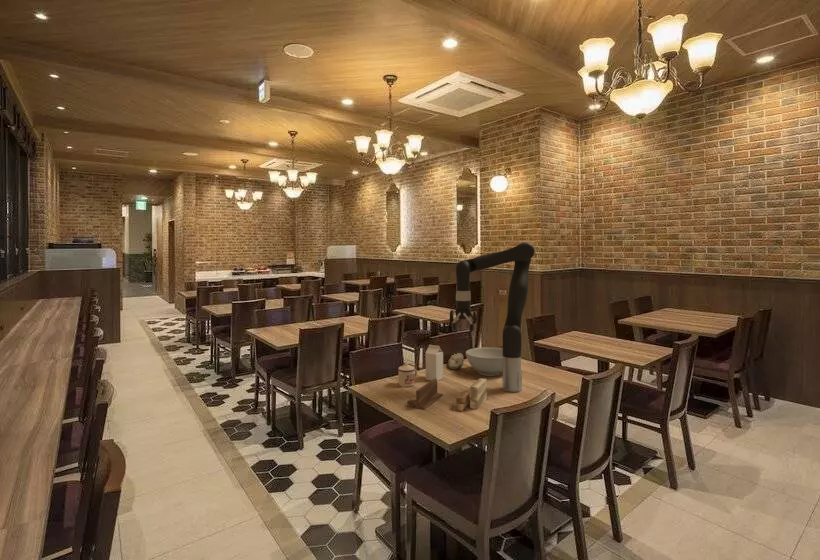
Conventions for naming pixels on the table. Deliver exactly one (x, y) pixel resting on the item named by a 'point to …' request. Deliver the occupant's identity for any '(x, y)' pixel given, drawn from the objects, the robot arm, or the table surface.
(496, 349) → the decorative bowl
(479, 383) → the pale wooden block
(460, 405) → the offcut stack
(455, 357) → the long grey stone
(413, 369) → the teacup with lid
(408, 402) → the rack
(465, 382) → the table surface
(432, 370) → the milk carton
